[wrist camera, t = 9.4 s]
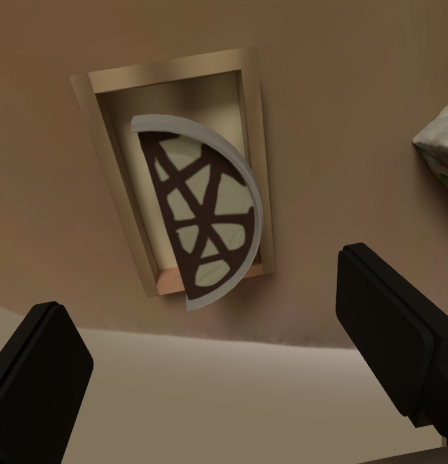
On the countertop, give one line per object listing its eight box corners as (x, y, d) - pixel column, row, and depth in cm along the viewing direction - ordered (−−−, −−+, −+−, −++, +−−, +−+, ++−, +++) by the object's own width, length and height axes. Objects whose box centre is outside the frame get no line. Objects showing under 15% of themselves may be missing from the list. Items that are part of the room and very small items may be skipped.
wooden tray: (246, 52, 22) (256, 45, 19) (266, 254, 30) (275, 272, 27) (85, 79, 21) (69, 75, 18) (150, 277, 29) (146, 297, 26)
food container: (249, 232, 27) (280, 297, 18) (187, 245, 27) (188, 318, 18) (227, 94, 22) (257, 91, 13) (150, 110, 22) (125, 118, 13)
